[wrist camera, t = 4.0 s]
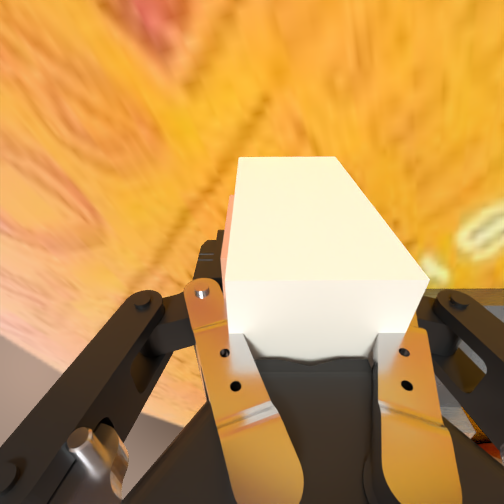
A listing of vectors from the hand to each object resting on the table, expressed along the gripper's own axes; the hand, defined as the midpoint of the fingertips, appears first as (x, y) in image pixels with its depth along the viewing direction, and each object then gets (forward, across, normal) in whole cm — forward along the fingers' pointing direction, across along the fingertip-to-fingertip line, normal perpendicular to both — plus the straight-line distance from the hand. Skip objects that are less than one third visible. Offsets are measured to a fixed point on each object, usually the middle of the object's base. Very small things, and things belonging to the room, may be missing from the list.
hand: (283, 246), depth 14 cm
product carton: (+2, 0, 0) cm, 2 cm away
